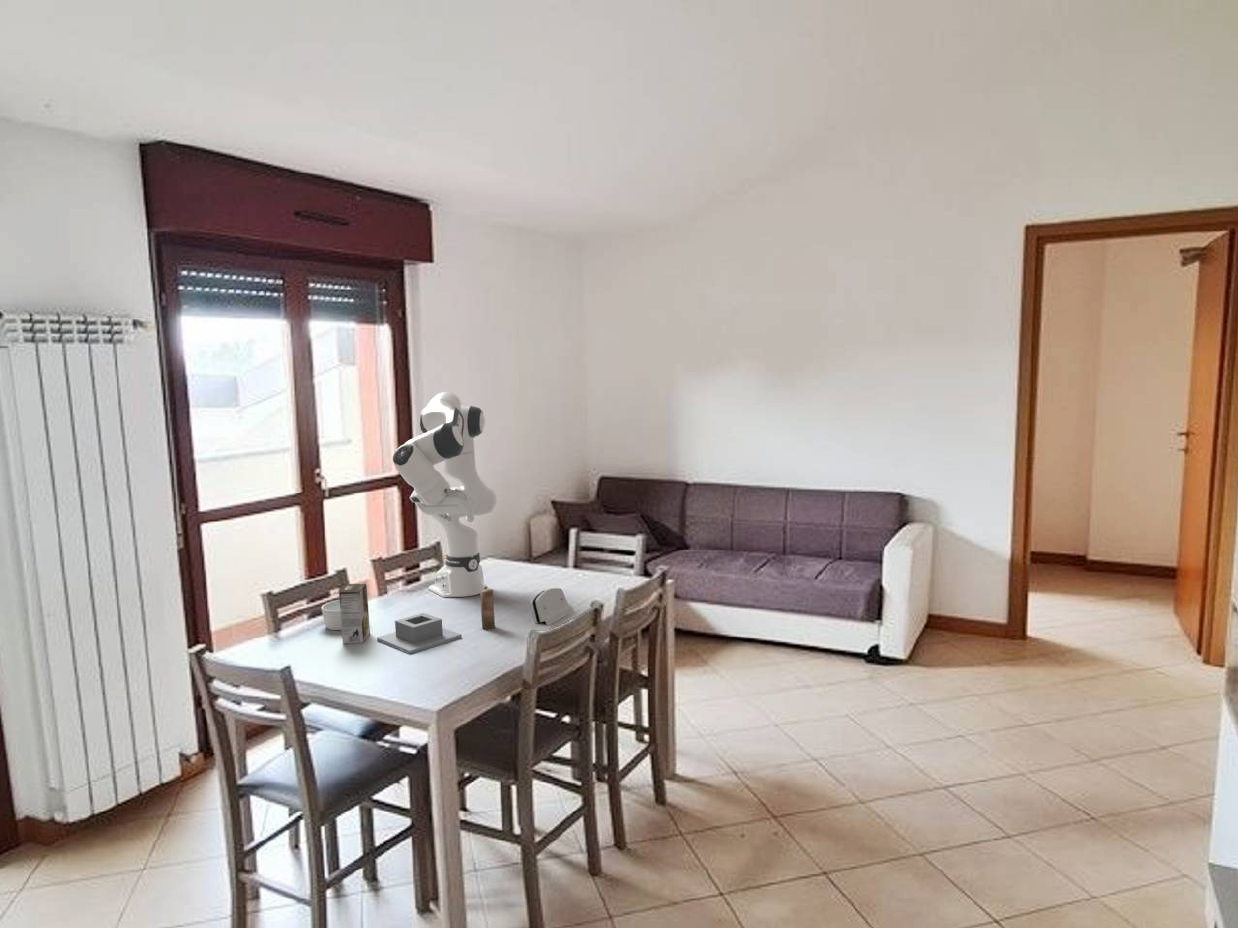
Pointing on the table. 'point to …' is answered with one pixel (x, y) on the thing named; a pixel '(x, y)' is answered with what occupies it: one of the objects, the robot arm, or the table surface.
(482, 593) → the pin
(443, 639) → the socket block
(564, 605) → the hinge
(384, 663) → the table surface
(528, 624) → the table surface
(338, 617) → the ramekin
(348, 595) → the coffee box
